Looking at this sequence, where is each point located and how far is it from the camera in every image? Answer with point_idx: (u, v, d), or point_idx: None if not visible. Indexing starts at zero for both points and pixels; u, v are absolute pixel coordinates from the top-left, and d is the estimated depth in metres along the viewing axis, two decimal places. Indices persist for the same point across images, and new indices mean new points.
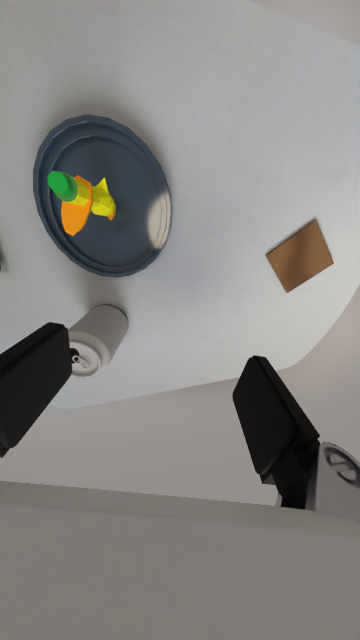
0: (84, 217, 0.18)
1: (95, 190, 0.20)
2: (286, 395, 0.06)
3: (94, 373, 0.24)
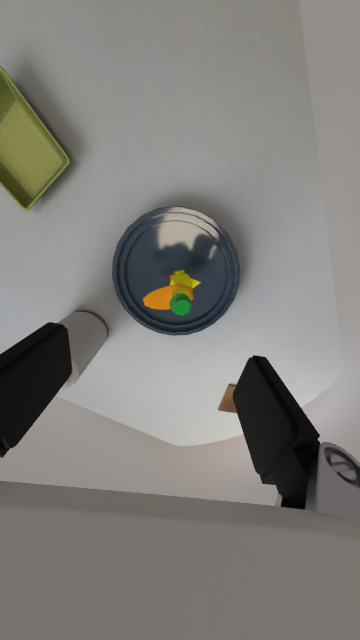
0: (166, 308, 0.19)
1: (187, 284, 0.22)
2: (286, 395, 0.06)
3: None
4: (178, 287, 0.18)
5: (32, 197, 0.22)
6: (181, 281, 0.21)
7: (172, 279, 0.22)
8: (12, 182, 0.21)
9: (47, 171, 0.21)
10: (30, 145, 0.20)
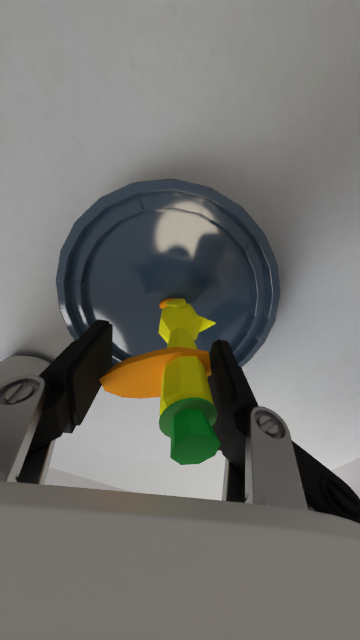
0: (153, 395, 0.09)
1: (193, 328, 0.11)
2: (235, 370, 0.07)
3: None
4: (179, 360, 0.08)
5: None
6: (181, 325, 0.11)
7: (164, 319, 0.12)
8: None
9: None
10: None
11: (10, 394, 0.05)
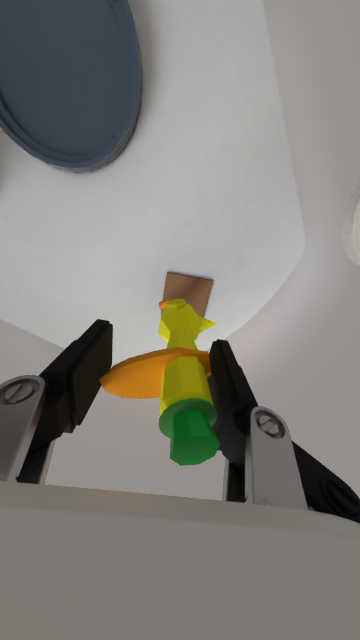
0: (153, 396, 0.09)
1: (192, 329, 0.11)
2: (235, 370, 0.07)
3: None
4: (179, 360, 0.08)
5: None
6: (181, 326, 0.11)
7: (163, 320, 0.12)
8: None
9: None
10: None
11: (10, 394, 0.05)
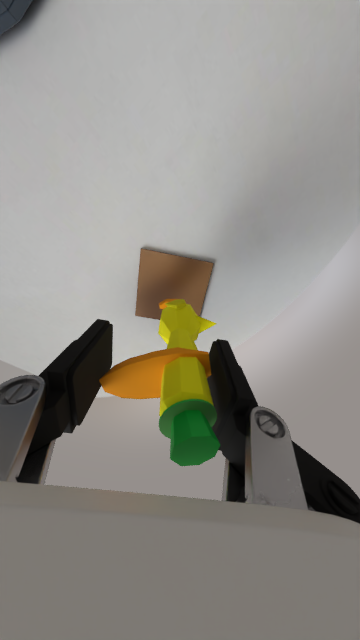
0: (153, 396, 0.09)
1: (192, 329, 0.11)
2: (235, 370, 0.07)
3: None
4: (179, 361, 0.08)
5: None
6: (181, 326, 0.11)
7: (163, 320, 0.12)
8: None
9: None
10: None
11: (10, 394, 0.05)
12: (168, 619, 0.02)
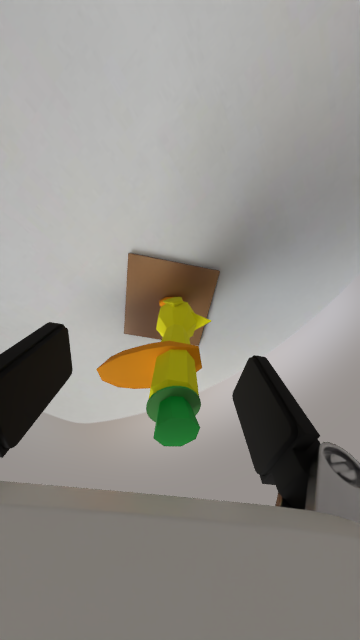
0: (147, 386, 0.09)
1: (188, 325, 0.12)
2: (286, 395, 0.06)
3: None
4: (170, 352, 0.08)
5: None
6: (177, 322, 0.12)
7: (161, 316, 0.12)
8: None
9: None
10: None
11: None
12: (168, 619, 0.02)
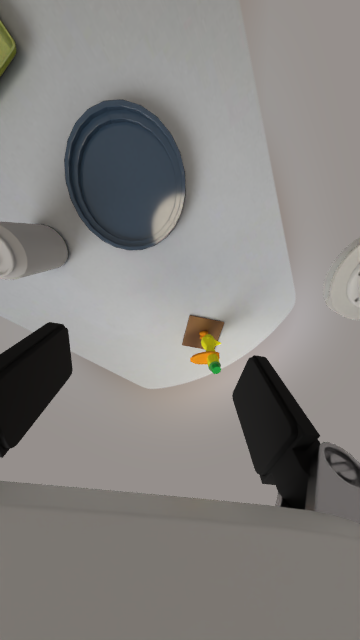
0: (203, 363, 0.33)
1: (213, 345, 0.36)
2: (286, 395, 0.06)
3: None
4: (212, 354, 0.32)
5: None
6: (210, 344, 0.35)
7: (204, 341, 0.36)
8: None
9: None
10: None
11: None
12: (168, 619, 0.02)
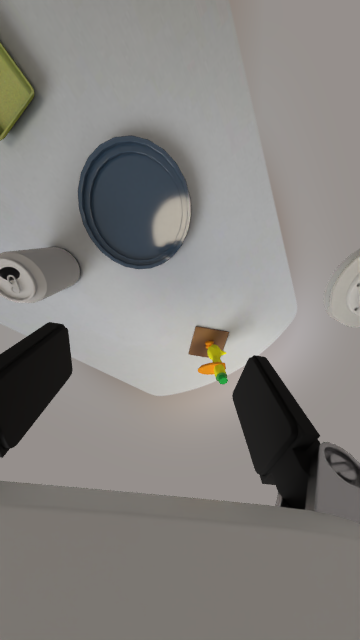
0: (210, 373, 0.35)
1: (219, 355, 0.37)
2: (286, 395, 0.06)
3: (15, 300, 0.25)
4: (218, 365, 0.33)
5: (4, 130, 0.25)
6: (216, 354, 0.37)
7: (210, 352, 0.38)
8: None
9: (16, 104, 0.24)
10: (0, 79, 0.23)
11: None
12: (168, 619, 0.02)
